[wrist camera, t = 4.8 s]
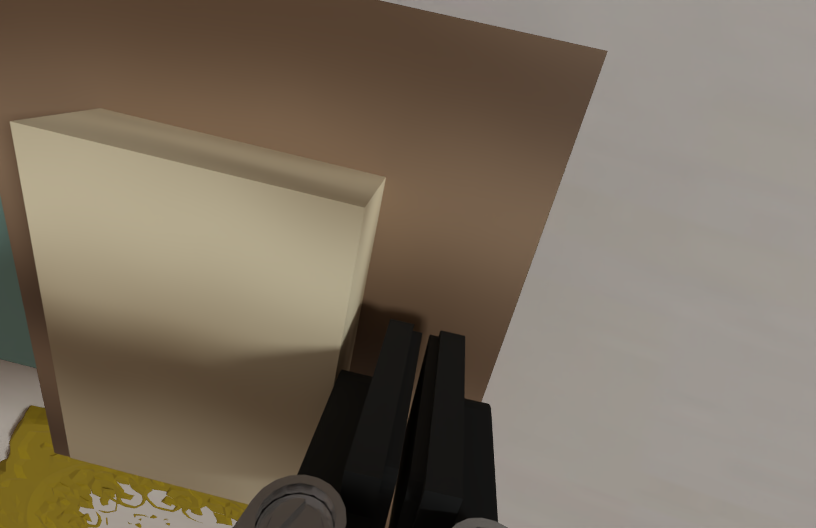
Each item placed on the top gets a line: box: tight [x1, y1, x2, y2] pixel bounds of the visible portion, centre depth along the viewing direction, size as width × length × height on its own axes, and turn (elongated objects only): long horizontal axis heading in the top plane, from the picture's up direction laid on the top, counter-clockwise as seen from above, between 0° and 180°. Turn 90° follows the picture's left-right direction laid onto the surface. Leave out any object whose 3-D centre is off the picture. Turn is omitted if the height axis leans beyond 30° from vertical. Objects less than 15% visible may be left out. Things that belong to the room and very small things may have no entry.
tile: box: [10, 108, 386, 505], centre depth 10 cm, size 8×6×2 cm
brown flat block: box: [0, 0, 607, 528], centre depth 13 cm, size 14×12×4 cm
